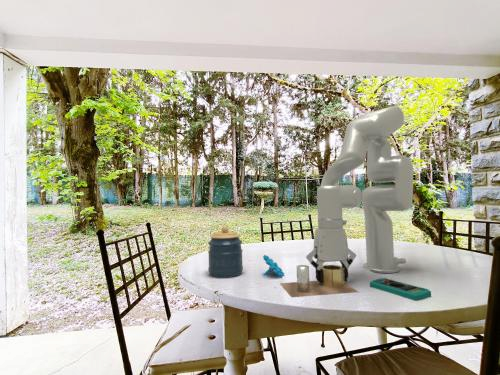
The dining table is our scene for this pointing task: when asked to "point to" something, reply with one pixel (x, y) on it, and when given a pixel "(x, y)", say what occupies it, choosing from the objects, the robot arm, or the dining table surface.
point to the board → (316, 289)
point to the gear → (272, 267)
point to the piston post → (303, 279)
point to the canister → (225, 254)
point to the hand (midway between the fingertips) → (332, 280)
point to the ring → (333, 275)
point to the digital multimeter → (401, 289)
